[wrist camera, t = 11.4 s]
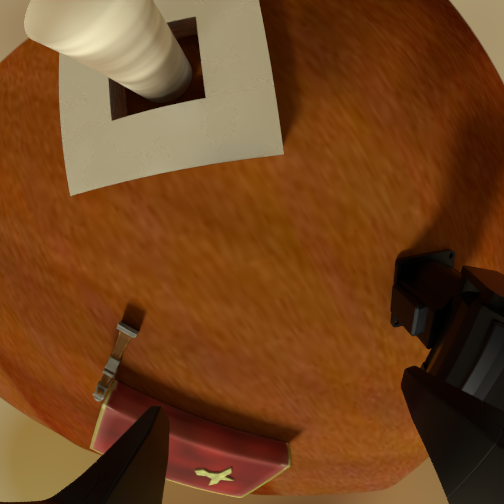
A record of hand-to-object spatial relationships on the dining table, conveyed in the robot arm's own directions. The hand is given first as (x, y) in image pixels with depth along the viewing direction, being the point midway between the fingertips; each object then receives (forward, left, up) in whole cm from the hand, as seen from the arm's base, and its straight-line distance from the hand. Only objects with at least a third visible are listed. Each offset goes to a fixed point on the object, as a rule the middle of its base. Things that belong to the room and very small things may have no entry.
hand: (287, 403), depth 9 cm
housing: (+5, -15, -13) cm, 20 cm away
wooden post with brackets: (+14, +6, -13) cm, 20 cm away
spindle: (+5, -15, -13) cm, 20 cm away
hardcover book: (+11, +21, -14) cm, 28 cm away
